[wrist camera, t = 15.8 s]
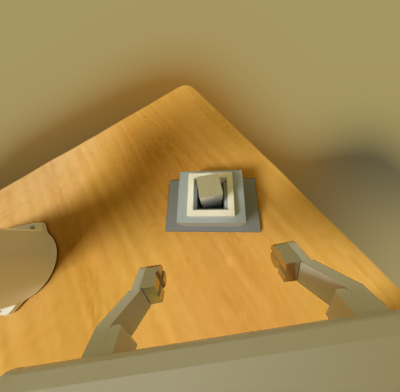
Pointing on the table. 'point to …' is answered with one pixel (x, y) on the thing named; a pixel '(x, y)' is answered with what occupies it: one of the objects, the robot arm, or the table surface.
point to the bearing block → (243, 208)
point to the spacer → (210, 213)
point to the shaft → (210, 191)
